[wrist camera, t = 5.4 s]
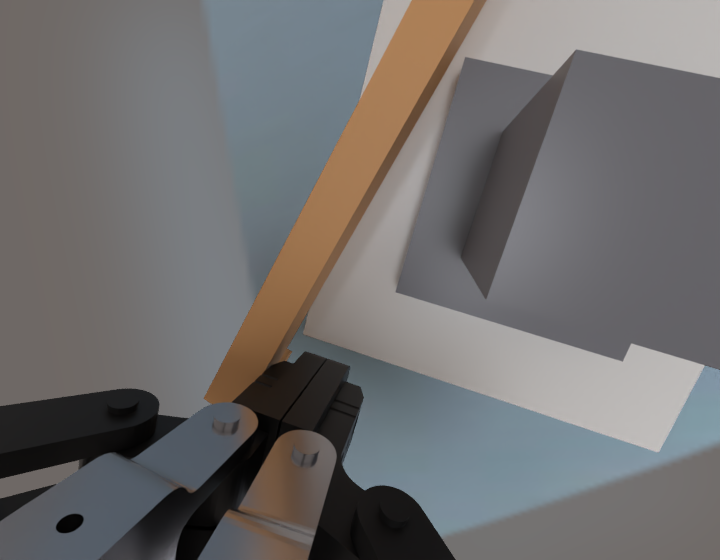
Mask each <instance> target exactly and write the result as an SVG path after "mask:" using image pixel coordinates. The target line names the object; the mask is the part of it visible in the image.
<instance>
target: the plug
mask: <svg viewBox="0 0 720 560" xmlns="http://www.w3.org/2000/svg"><path fill="white" fill-rule="evenodd" d="M395 292H396V293H400V294H403V295H406V296H409V297H413V298H416V299H419V300H423V301H426V302H429V303H432V304H436V305H439V306H442V307H445V308H449V309H452V310H455V311H459V312H462V313H465V314H468V315H472V316H475V317H478V318H481V319H485V320H488V321H491V322H495V323H498V324H501V325H504V326H508V327H511V328H514V329H517V330H521V331H524V332H527V333H531V334H534V335H537V336H540V337H544V338H547V339H550V340H553V341H557V342H560V343H563V344H567V345H570V346H573V347H576V348H580V349H583V350H586V351H589V352H593V353H596V354H599V355H603V356H606V357H609V358H612V359H616V360H619V361H622V362H623V360H624V358H625V356H626V354H627V351H628V349H629V347H630V345H631V343H632V344H635V345H638V346H642V347H645V348H648V349H652V350H655V351H659V352H662V353H665V354H669V355H672V356H675V357H679V358H682V359H685V360H689V361H692V362H695V363H699V364H702V365H705V366H709V367H712V368H716V369H719V370H720V78H717V77H712V76H707V75H702V74H697V73H692V72H687V71H682V70H677V69H672V68H667V67H662V66H657V65H652V64H647V63H642V62H637V61H632V60H627V59H622V58H617V57H612V56H607V55H602V54H597V53H592V52H587V51H582V50H577V49H576V50H575V51H574V52H573V53H572V55H571V56H570V57H569V58H568V59H567V60H566V61H565V62H564V64H563V65H562V66H561V67H560V68H559V69H558V70H557V71H556V72H555V74H554V75H549V74H544V73H539V72H534V71H530V70H525V69H520V68H516V67H511V66H506V65H501V64H497V63H492V62H487V61H482V60H478V59H473V58H468V57H465V59H464V63H463V66H462V69H461V73H460V76H459V79H458V83H457V86H456V89H455V93H454V96H453V100H452V103H451V106H450V110H449V113H448V116H447V120H446V123H445V126H444V130H443V133H442V137H441V140H440V143H439V147H438V150H437V153H436V157H435V160H434V164H433V167H432V170H431V174H430V177H429V180H428V184H427V187H426V190H425V194H424V197H423V201H422V204H421V207H420V211H419V214H418V217H417V221H416V224H415V227H414V231H413V234H412V238H411V241H410V244H409V248H408V251H407V254H406V258H405V261H404V265H403V268H402V271H401V275H400V278H399V281H398V285H397V288H396V291H395Z"/></svg>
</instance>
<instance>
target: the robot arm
mask: <svg viewBox="0 0 720 560" xmlns="http://www.w3.org/2000/svg"><path fill="white" fill-rule="evenodd" d="M349 370H350V366H348V365H345V364H342V363H339V362H336V361H333V360H330V359H327V358H324V357H321V356H318V355H315V354H312V353H309V352H304V353H303V354H302V355H301V356H300V357H299V358H298V359H297V361H296V362H295V363H294V364H293V363H290V362H287V361H282V362H279V363H276V364H273V365H271V366H270V367H269V368H268V369H267V370H265V371H264V372H263V373H262V375H260V376H259V377H258V378H257V379H256V380H255V382H253V383H252V384H250V385H249V386H248V387H247V388H246V389H245V390H244V391H243V392H242V393H241V394H240V395H239V396H238V397H237V398H236V399H234V400H233V401H232V402H231V403H230V402H223V403H215V404H212V405H209V406H206V407H204V408H203V409H201V410H200V411H198V412H197V413H195V414H194V415H193V416H191V417H190V418H180V417H172V416H164V415H158V411H159V401H158V399H157V398H156V397H155V396H154V395H153V394H151V393H149V392H147V391H143V390H138V389H117V390H110V391H103V392H97V393H89V394H82V395H76V396H68V397H62V398H54V399H48V400H41V401H34V402H27V403H20V404H13V405H6V406H0V479H1V478H5V477H9V476H14V475H18V474H22V473H26V472H30V471H34V470H38V469H43V468H47V467H51V466H55V465H60V464H64V463H68V462H72V461H77V460H79V469H78V471H76V472H75V473H73V474H72V475H70V476H69V477H67V478H66V479H64V480H62V481H61V482H59V483H58V484H55V485H51V486H47V487H43V488H39V489H36V490H32V491H28V492H24V493H20V494H17V495H13V496H9V497H5V498H1V499H0V560H455V558H454V557H453V555H452V554H451V552H450V551H449V549H448V548H447V546H446V545H445V543H444V541H443V540H442V538H441V537H440V535H439V534H438V532H437V531H436V529H435V528H434V526H433V525H432V523H431V522H430V520H429V519H428V517H427V516H426V514H425V513H424V511H423V510H422V508H421V507H420V506H419V504H418V503H417V502H416V501H415V500H414V499H413V498H412V497H410V496H409V495H408V494H406V493H405V492H403V491H401V490H399V489H397V488H394V487H390V486H374V487H371V488H369V489H367V490H366V491H365V490H363V489H362V488H360V487H359V486H358V485H357V484H355V483H354V482H353V481H352V480H351V479H350V478H349V477H348V475H347V474H346V472H345V470H344V469H343V466H342V464H343V461H344V459H345V456H346V453H347V451H348V448H349V445H350V443H351V440H352V436H353V433H354V429H355V426H356V422H357V419H358V416H359V412H360V409H361V405H362V402H363V398H364V397H363V394H362V391H361V387H359V386H356V385H353V384H351V383H348V382H347V378H348V374H349Z"/></svg>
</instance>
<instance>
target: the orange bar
mask: <svg viewBox="0 0 720 560" xmlns="http://www.w3.org/2000/svg"><path fill="white" fill-rule="evenodd" d="M486 1H487V0H412V1H411V3H410V5H409V7H408V8H407V10H406V12H405V14H404V16H403V18H402V20H401V22H400V24H399V26H398V28H397V29H396V31H395V33H394V35H393V37H392V39H391V41H390V43H389V45H388V47H387V49H386V51H385V52H384V54H383V56H382V58H381V60H380V62H379V64H378V66H377V68H376V70H375V72H374V73H373V75H372V77H371V79H370V81H369V83H368V85H367V87H366V89H365V91H364V93H363V95H362V96H361V98H360V100H359V102H358V104H357V106H356V108H355V110H354V112H353V114H352V116H351V117H350V119H349V121H348V123H347V125H346V127H345V129H344V131H343V133H342V135H341V137H340V139H339V140H338V142H337V144H336V146H335V148H334V150H333V152H332V154H331V156H330V158H329V160H328V161H327V163H326V165H325V167H324V169H323V171H322V173H321V175H320V177H319V179H318V181H317V183H316V184H315V186H314V188H313V190H312V192H311V194H310V196H309V198H308V200H307V202H306V204H305V205H304V207H303V209H302V211H301V213H300V215H299V217H298V219H297V221H296V223H295V225H294V227H293V228H292V230H291V232H290V234H289V236H288V238H287V240H286V242H285V244H284V246H283V248H282V249H281V251H280V253H279V255H278V257H277V259H276V261H275V263H274V265H273V267H272V269H271V271H270V272H269V274H268V276H267V278H266V280H265V282H264V284H263V286H262V288H261V290H260V292H259V294H258V295H257V297H256V299H255V301H254V303H253V305H252V307H251V309H250V311H249V313H248V315H247V316H246V318H245V320H244V322H243V324H242V326H241V328H240V330H239V332H238V334H237V336H236V338H235V340H234V341H233V343H232V345H231V347H230V349H229V351H228V353H227V355H226V357H225V359H224V360H223V363H222V364H221V367H220V368H219V370H218V372H217V374H216V376H215V378H214V380H213V382H212V384H211V385H210V387H209V389H208V391H207V393H206V395H205V397H204V399H205V400H207V401H208V402H209V403H211V404H215V403H223V402H230V403H231V402H232V401H233V400H234V399H236V398H237V397H238V396H239V395H240V394H241V393H242V392H243V391H244V390H245V389H246V388H247V387H248V386H249V385H250V384H252V383H253V382H255V380H256V379H257V378H258V377H259V376H260V375H262V373H263V372H264V371H265V370H267V369H268V368H269V367H270V366H271V365H273V364H276V363H279V362H282V361H287V360H288V358H289V356H290V354H291V353H292V351H290V350H289V349H287V347H288V346H289V344H290V342H291V340H292V339H293V337H294V335H295V333H296V332H297V330H298V328H299V326H300V325H301V323H302V321H303V319H304V318H305V316H306V314H307V312H308V311H309V309H310V307H311V306H312V304H313V302H314V300H315V299H316V297H317V295H318V293H319V292H320V290H321V288H322V286H323V285H324V283H325V281H326V279H327V278H328V276H329V274H330V272H331V271H332V269H333V267H334V265H335V264H336V262H337V260H338V258H339V257H340V255H341V253H342V252H343V250H344V248H345V246H346V245H347V243H348V241H349V239H350V238H351V236H352V234H353V232H354V231H355V229H356V227H357V225H358V224H359V222H360V220H361V218H362V217H363V215H364V213H365V211H366V210H367V208H368V206H369V204H370V203H371V201H372V199H373V197H374V196H375V194H376V192H377V191H378V189H379V187H380V185H381V184H382V182H383V180H384V178H385V177H386V175H387V173H388V171H389V170H390V168H391V166H392V164H393V163H394V161H395V159H396V157H397V156H398V154H399V152H400V150H401V149H402V147H403V145H404V143H405V142H406V140H407V138H408V137H409V135H410V133H411V131H412V130H413V128H414V126H415V124H416V123H417V121H418V119H419V117H420V116H421V114H422V112H423V110H424V109H425V107H426V105H427V103H428V102H429V100H430V98H431V96H432V95H433V93H434V91H435V89H436V88H437V86H438V84H439V82H440V81H441V79H442V77H443V76H444V74H445V72H446V70H447V69H448V67H449V65H450V63H451V62H452V60H453V58H454V56H455V55H456V53H457V51H458V49H459V48H460V46H461V44H462V42H463V41H464V39H465V37H466V35H467V34H468V32H469V30H470V28H471V27H472V25H473V23H474V22H475V20H476V18H477V16H478V15H479V13H480V11H481V9H482V8H483V6H484V4H485V2H486Z"/></svg>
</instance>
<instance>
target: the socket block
mask: <svg viewBox="0 0 720 560" xmlns="http://www.w3.org/2000/svg"><path fill="white" fill-rule="evenodd" d="M411 1H412V0H384V1H383V5H382V9H381V13H380V18H379V22H378V26H377V30H376V34H375V38H374V42H373V47H372V51H371V55H370V59H369V63H368V67H367V71H366V76H365V80H364V84H363V88H362V92H361V96H362V95H363V93H364V91H365V89H366V87H367V85H368V83H369V81H370V79H371V77H372V75H373V73H374V72H375V70H376V68H377V66H378V64H379V62H380V60H381V58H382V56H383V54H384V52H385V51H386V49H387V47H388V45H389V43H390V41H391V39H392V37H393V35H394V33H395V31H396V29H397V28H398V26H399V24H400V22H401V20H402V18H403V16H404V14H405V12H406V10H407V8H408V7H409V5H410V3H411ZM576 49H577V50H582V51H587V52H592V53H597V54H602V55H607V56H612V57H617V58H622V59H627V60H632V61H637V62H642V63H647V64H652V65H657V66H662V67H667V68H672V69H677V70H682V71H687V72H692V73H697V74H702V75H707V76H712V77H717V78H720V0H487V1H486V2H485V4H484V6H483V8H482V9H481V11H480V13H479V15H478V16H477V18H476V20H475V22H474V23H473V25H472V27H471V28H470V30H469V32H468V34H467V35H466V37H465V39H464V41H463V42H462V44H461V46H460V48H459V49H458V51H457V53H456V55H455V56H454V58H453V60H452V62H451V63H450V65H449V67H448V69H447V70H446V72H445V74H444V76H443V77H442V79H441V81H440V82H439V84H438V86H437V88H436V89H435V91H434V93H433V95H432V96H431V98H430V100H429V102H428V103H427V105H426V107H425V109H424V110H423V112H422V114H421V116H420V117H419V119H418V121H417V123H416V124H415V126H414V128H413V130H412V131H411V133H410V135H409V137H408V138H407V140H406V142H405V143H404V145H403V147H402V149H401V150H400V152H399V154H398V156H397V157H396V159H395V161H394V163H393V164H392V166H391V168H390V170H389V171H388V173H387V175H386V177H385V178H384V180H383V182H382V184H381V185H380V187H379V189H378V191H377V192H376V194H375V196H374V197H373V199H372V201H371V203H370V204H369V206H368V208H367V210H366V211H365V213H364V215H363V217H362V218H361V220H360V222H359V224H358V225H357V227H356V229H355V231H354V232H353V234H352V236H351V238H350V239H349V241H348V243H347V245H346V246H345V248H344V250H343V252H342V253H341V255H340V257H339V258H338V260H337V262H336V264H335V265H334V267H333V269H332V271H331V272H330V274H329V276H328V278H327V279H326V281H325V283H324V285H323V286H322V288H321V290H320V292H319V293H318V295H317V297H316V299H315V300H314V302H313V304H312V306H311V307H310V309H309V311H308V315H307V320H306V324H305V328H304V332H303V335H306V336H309V337H312V338H315V339H318V340H321V341H324V342H327V343H330V344H334V345H337V346H340V347H343V348H346V349H349V350H352V351H355V352H358V353H361V354H364V355H367V356H370V357H373V358H376V359H379V360H382V361H385V362H388V363H391V364H394V365H397V366H400V367H403V368H406V369H409V370H412V371H415V372H418V373H421V374H424V375H427V376H430V377H433V378H436V379H439V380H442V381H445V382H448V383H451V384H454V385H457V386H460V387H463V388H466V389H469V390H472V391H475V392H478V393H481V394H484V395H487V396H490V397H493V398H496V399H499V400H502V401H505V402H508V403H511V404H514V405H517V406H520V407H523V408H526V409H529V410H532V411H535V412H538V413H541V414H544V415H547V416H550V417H553V418H556V419H559V420H562V421H565V422H568V423H571V424H574V425H577V426H580V427H583V428H586V429H589V430H592V431H595V432H598V433H601V434H604V435H607V436H610V437H613V438H616V439H619V440H622V441H625V442H628V443H631V444H634V445H637V446H640V447H643V448H646V449H649V450H652V451H655V452H658V453H659V451H660V449H661V447H662V445H663V443H664V441H665V440H666V438H667V436H668V434H669V432H670V430H671V428H672V426H673V425H674V423H675V421H676V419H677V417H678V415H679V413H680V411H681V409H682V408H683V406H684V404H685V402H686V400H687V398H688V396H689V394H690V393H691V391H692V389H693V387H694V385H695V383H696V381H697V379H698V377H699V376H700V374H701V372H702V370H703V368H704V366H705V365H702V364H699V363H695V362H692V361H689V360H685V359H682V358H679V357H675V356H672V355H669V354H665V353H662V352H659V351H655V350H652V349H648V348H645V347H642V346H638V345H635V344H632V343H631V345H630V347H629V349H628V351H627V354H626V356H625V358H624V360H623V362H622V361H619V360H616V359H612V358H609V357H606V356H603V355H599V354H596V353H593V352H589V351H586V350H583V349H580V348H576V347H573V346H570V345H567V344H563V343H560V342H557V341H553V340H550V339H547V338H544V337H540V336H537V335H534V334H531V333H527V332H524V331H521V330H517V329H514V328H511V327H508V326H504V325H501V324H498V323H495V322H491V321H488V320H485V319H481V318H478V317H475V316H472V315H468V314H465V313H462V312H459V311H455V310H452V309H449V308H445V307H442V306H439V305H436V304H432V303H429V302H426V301H423V300H419V299H416V298H413V297H409V296H406V295H403V294H400V293H396V292H395V291H396V288H397V285H398V281H399V278H400V275H401V271H402V268H403V265H404V261H405V258H406V254H407V251H408V248H409V244H410V241H411V238H412V234H413V231H414V227H415V224H416V221H417V217H418V214H419V211H420V207H421V204H422V201H423V197H424V194H425V190H426V187H427V184H428V180H429V177H430V174H431V170H432V167H433V164H434V160H435V157H436V153H437V150H438V147H439V143H440V140H441V137H442V133H443V130H444V126H445V123H446V120H447V116H448V113H449V110H450V106H451V103H452V100H453V96H454V93H455V89H456V86H457V83H458V79H459V76H460V73H461V69H462V66H463V63H464V59H465V57H468V58H473V59H478V60H482V61H487V62H492V63H497V64H501V65H506V66H511V67H516V68H520V69H525V70H530V71H534V72H539V73H544V74H549V75H554V74H555V72H556V71H557V70H558V69H559V68H560V67H561V66H562V65H563V64H564V62H565V61H566V60H567V59H568V58H569V57H570V56H571V55H572V53H573V52H574V51H575V50H576ZM361 96H360V98H361Z"/></svg>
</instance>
